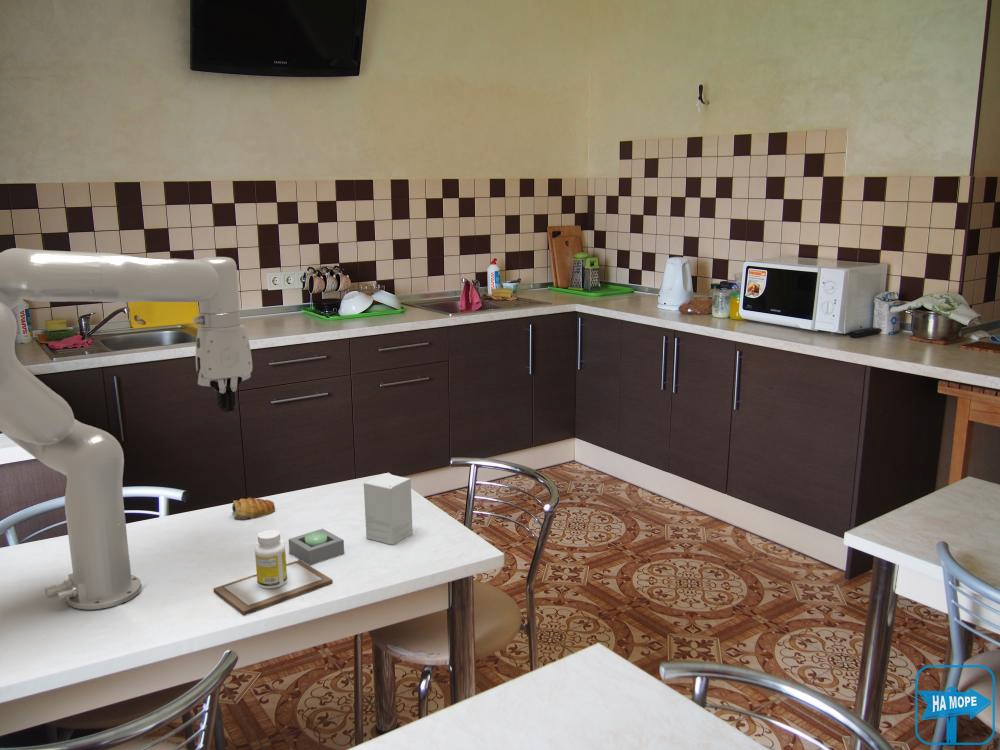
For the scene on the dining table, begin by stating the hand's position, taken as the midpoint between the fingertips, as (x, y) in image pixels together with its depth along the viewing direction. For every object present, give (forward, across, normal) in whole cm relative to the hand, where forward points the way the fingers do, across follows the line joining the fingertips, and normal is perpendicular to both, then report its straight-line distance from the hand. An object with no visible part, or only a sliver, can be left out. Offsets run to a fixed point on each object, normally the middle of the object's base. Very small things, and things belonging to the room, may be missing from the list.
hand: (227, 410), depth 173 cm
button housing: (+29, +10, -15) cm, 34 cm away
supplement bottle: (+28, -4, -23) cm, 37 cm away
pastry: (+30, +10, +14) cm, 35 cm away
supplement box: (+29, +26, -18) cm, 43 cm away
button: (+27, +10, -15) cm, 33 cm away
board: (+29, -4, -23) cm, 37 cm away
